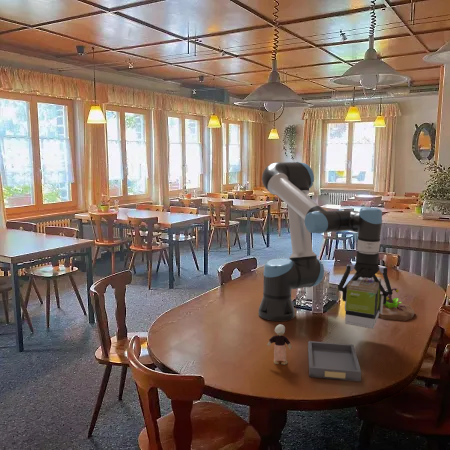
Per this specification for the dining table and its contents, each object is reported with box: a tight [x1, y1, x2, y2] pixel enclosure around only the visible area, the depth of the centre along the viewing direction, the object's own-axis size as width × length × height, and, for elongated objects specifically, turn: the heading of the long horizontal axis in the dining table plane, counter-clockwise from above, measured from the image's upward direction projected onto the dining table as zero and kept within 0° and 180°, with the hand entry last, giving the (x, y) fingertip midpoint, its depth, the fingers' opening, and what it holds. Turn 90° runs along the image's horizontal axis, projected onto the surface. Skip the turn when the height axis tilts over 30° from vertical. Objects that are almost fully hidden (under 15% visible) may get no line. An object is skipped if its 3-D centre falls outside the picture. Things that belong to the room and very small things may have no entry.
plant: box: [378, 287, 415, 322], centre depth 193 cm, size 20×20×11 cm
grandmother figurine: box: [266, 323, 293, 366], centre depth 143 cm, size 8×4×13 cm, turn 88°
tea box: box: [344, 276, 382, 329], centre depth 160 cm, size 15×10×15 cm
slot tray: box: [307, 340, 362, 382], centre depth 143 cm, size 15×20×3 cm
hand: (363, 311), depth 161 cm, fingers closed on tea box, 11 cm apart
